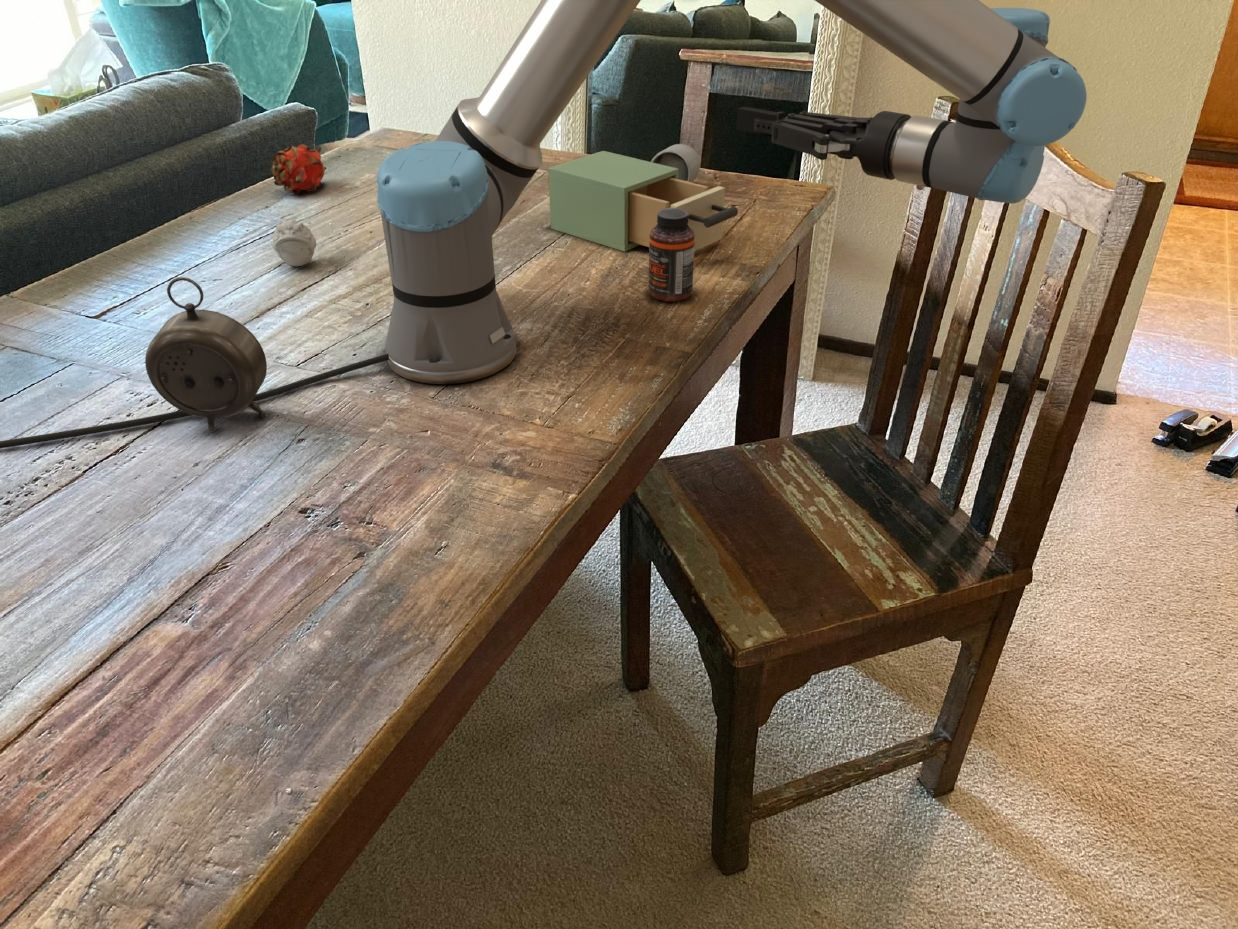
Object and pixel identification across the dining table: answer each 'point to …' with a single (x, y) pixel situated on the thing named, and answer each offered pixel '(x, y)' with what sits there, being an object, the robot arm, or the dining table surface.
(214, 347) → the alarm clock
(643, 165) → the cabinet
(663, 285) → the supplement bottle
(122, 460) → the dining table surface
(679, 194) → the drawer
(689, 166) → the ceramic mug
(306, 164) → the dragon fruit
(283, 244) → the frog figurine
